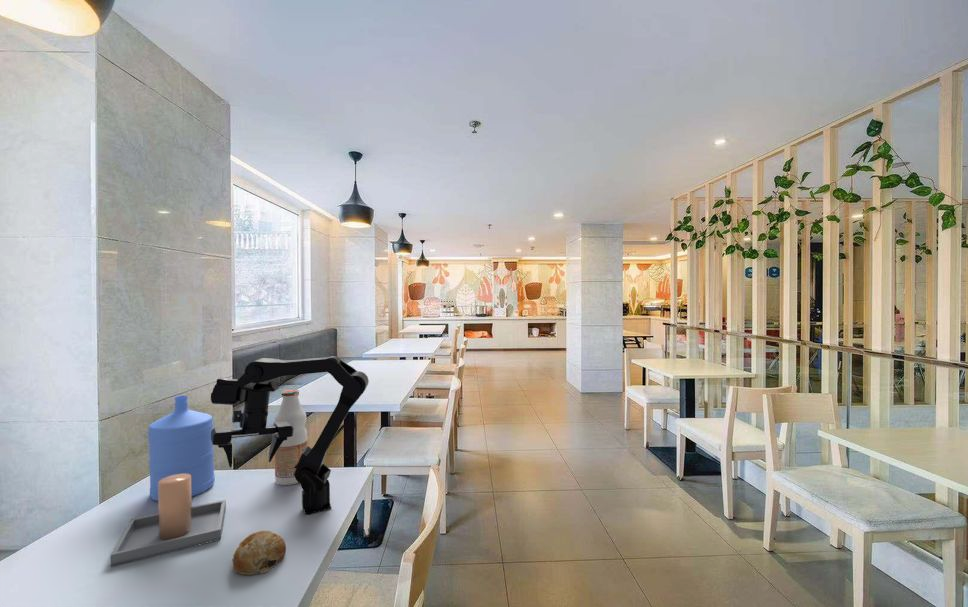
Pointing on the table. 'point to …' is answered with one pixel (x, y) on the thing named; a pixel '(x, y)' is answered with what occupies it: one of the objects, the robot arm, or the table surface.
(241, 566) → the bread roll
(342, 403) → the robot arm
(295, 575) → the table surface
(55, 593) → the table surface
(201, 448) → the water jug
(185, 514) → the peach rounded cylinder
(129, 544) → the grey tray
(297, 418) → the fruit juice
